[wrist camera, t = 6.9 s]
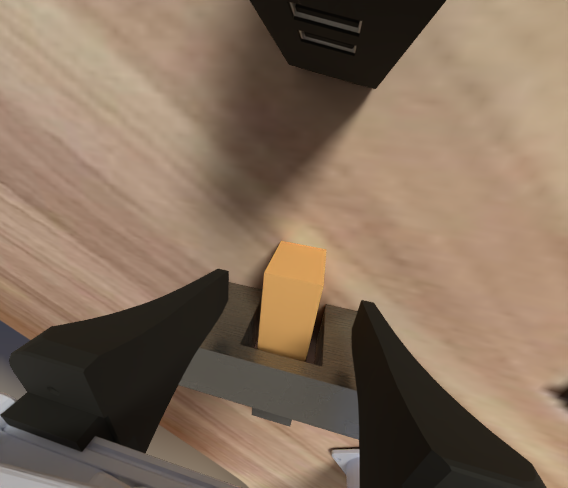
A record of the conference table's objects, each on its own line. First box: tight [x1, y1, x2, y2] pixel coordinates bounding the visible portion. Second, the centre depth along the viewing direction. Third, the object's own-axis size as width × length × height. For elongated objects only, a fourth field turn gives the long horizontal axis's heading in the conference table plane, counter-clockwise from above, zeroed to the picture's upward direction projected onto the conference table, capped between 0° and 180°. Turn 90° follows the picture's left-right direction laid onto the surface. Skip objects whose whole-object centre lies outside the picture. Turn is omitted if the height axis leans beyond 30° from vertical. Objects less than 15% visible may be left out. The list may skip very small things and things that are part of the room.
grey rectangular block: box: [178, 282, 359, 440], centre depth 15 cm, size 4×12×6 cm, turn 84°
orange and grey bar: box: [252, 241, 326, 426], centre depth 16 cm, size 13×3×4 cm, turn 174°
